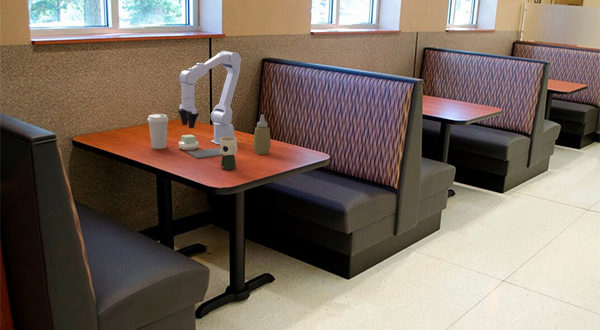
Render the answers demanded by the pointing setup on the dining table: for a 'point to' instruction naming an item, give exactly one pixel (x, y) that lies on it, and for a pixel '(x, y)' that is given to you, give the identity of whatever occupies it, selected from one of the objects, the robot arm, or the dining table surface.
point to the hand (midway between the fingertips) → (188, 126)
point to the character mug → (228, 152)
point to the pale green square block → (188, 139)
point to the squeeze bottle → (262, 137)
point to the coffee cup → (158, 130)
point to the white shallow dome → (188, 146)
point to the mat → (205, 153)
